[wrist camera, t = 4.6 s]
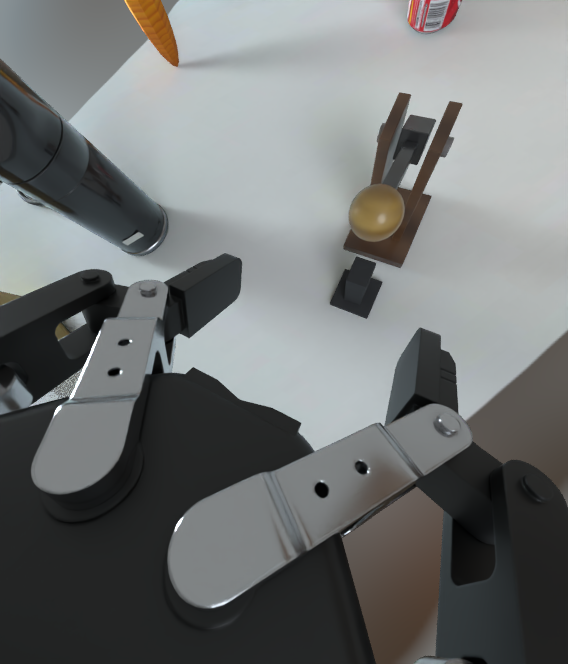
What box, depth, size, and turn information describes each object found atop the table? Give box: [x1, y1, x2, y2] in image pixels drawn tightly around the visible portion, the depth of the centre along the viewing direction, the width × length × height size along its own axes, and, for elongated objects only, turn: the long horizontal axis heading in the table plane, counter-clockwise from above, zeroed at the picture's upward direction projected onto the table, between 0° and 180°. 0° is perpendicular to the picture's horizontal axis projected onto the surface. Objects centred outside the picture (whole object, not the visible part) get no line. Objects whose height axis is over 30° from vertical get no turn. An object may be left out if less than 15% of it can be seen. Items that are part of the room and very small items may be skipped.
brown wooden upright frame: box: [344, 93, 462, 268], centre depth 29 cm, size 10×8×16 cm
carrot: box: [124, 0, 179, 67], centre depth 41 cm, size 5×5×15 cm
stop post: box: [330, 257, 382, 318], centre depth 32 cm, size 5×5×8 cm
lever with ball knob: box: [349, 115, 436, 242], centre depth 21 cm, size 14×4×4 cm, turn 155°
